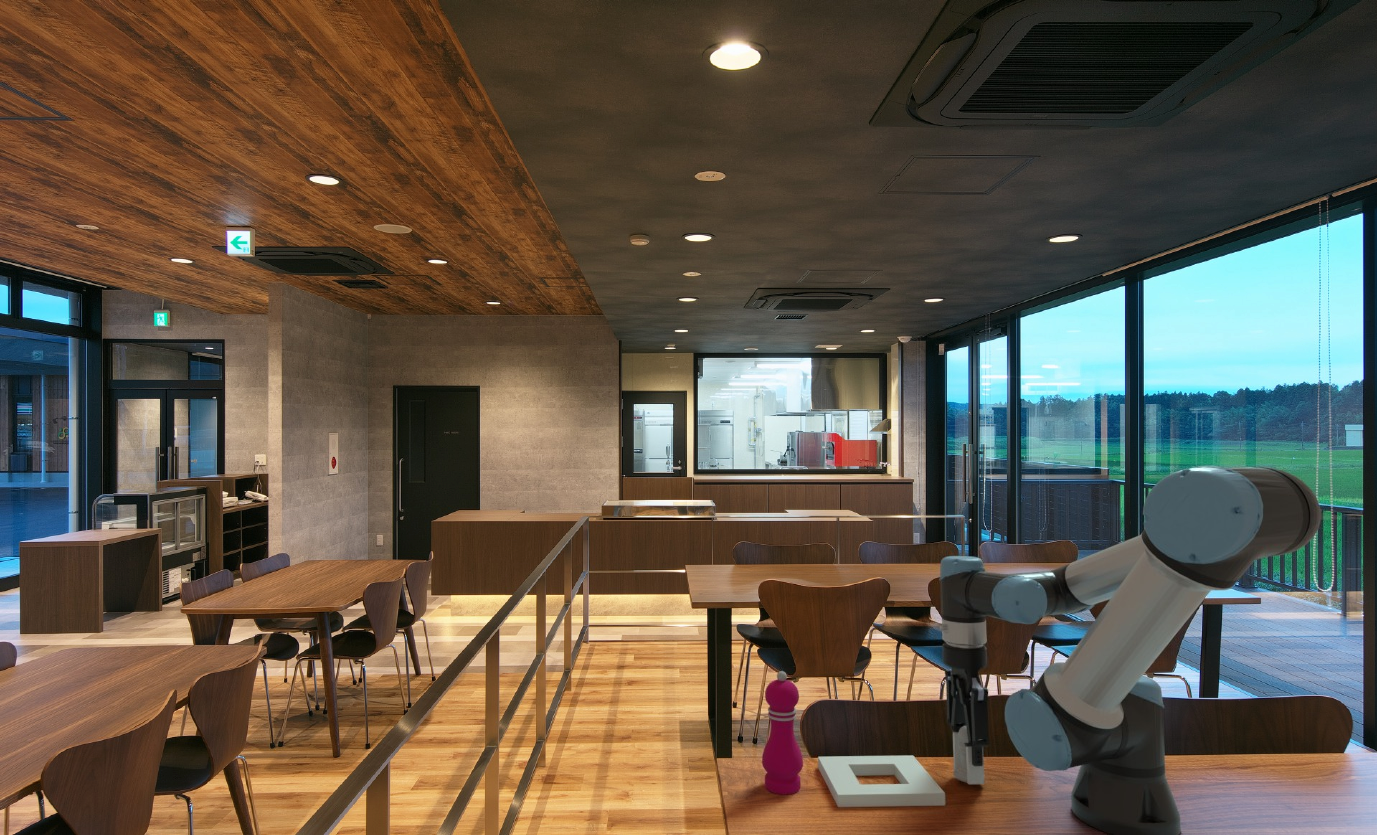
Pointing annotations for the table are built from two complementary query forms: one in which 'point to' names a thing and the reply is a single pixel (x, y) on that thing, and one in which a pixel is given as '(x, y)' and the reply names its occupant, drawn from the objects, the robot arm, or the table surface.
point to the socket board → (850, 793)
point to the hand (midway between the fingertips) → (968, 776)
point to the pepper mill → (782, 738)
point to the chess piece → (962, 756)
